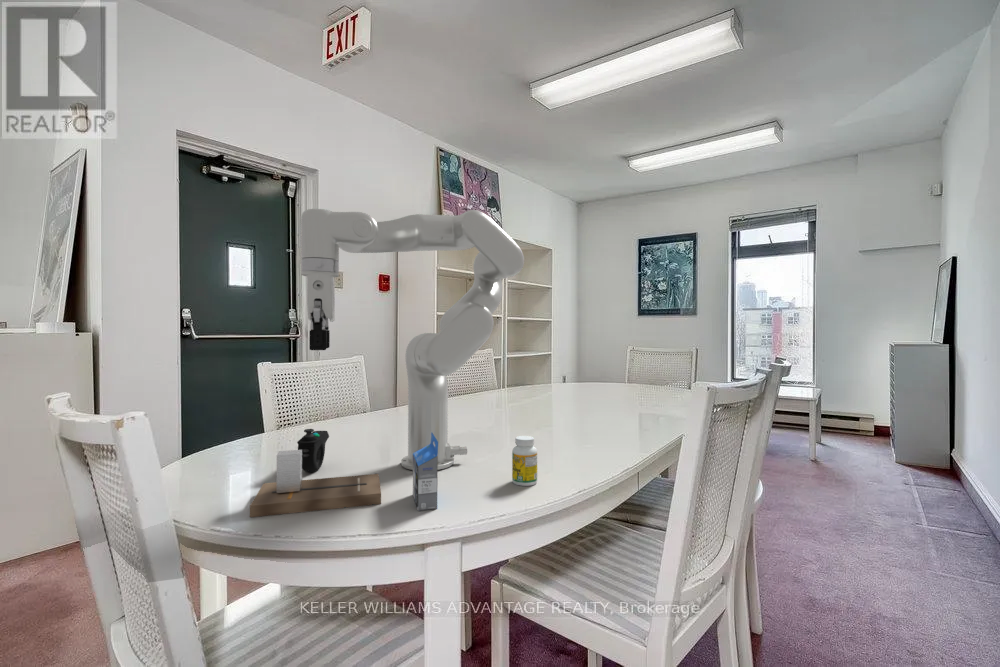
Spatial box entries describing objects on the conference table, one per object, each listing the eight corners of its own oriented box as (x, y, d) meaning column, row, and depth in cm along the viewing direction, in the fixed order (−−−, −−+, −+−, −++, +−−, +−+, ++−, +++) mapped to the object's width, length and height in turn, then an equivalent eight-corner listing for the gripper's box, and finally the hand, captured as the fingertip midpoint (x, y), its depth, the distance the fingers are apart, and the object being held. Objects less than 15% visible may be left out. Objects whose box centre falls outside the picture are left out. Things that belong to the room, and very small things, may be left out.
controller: (294, 478, 101) (294, 432, 100) (312, 461, 113) (312, 421, 113) (314, 477, 101) (314, 432, 101) (330, 461, 113) (331, 420, 113)
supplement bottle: (541, 484, 97) (542, 439, 97) (519, 488, 95) (519, 441, 95) (529, 477, 102) (529, 433, 102) (507, 480, 100) (508, 436, 100)
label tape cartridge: (411, 494, 91) (412, 432, 91) (431, 492, 92) (431, 431, 92) (417, 511, 83) (417, 443, 83) (438, 509, 84) (439, 441, 84)
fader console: (378, 483, 98) (378, 473, 98) (381, 503, 86) (381, 492, 86) (263, 493, 91) (263, 482, 91) (249, 517, 80) (249, 505, 80)
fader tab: (302, 485, 89) (302, 449, 89) (300, 491, 86) (300, 453, 86) (279, 487, 88) (279, 451, 88) (276, 493, 85) (276, 455, 85)
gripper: (336, 264, 91) (336, 350, 91) (340, 274, 108) (340, 347, 108) (295, 262, 89) (295, 351, 89) (305, 272, 106) (305, 347, 106)
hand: (320, 349), depth 99 cm, fingers open, 9 cm apart
